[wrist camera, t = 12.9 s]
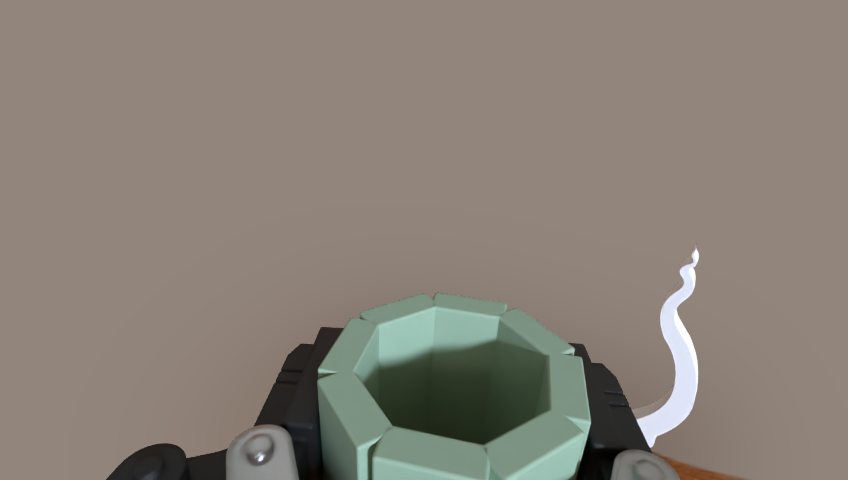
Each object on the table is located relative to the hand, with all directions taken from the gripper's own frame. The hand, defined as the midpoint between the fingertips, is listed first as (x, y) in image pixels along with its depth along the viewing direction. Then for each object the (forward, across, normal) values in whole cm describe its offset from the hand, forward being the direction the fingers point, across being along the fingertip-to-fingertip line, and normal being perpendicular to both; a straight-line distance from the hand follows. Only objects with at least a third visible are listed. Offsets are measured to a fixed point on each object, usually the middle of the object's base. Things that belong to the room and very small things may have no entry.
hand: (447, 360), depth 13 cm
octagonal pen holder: (-2, 0, +8) cm, 8 cm away
